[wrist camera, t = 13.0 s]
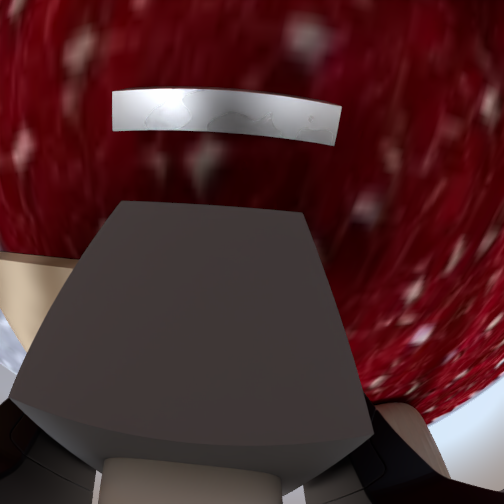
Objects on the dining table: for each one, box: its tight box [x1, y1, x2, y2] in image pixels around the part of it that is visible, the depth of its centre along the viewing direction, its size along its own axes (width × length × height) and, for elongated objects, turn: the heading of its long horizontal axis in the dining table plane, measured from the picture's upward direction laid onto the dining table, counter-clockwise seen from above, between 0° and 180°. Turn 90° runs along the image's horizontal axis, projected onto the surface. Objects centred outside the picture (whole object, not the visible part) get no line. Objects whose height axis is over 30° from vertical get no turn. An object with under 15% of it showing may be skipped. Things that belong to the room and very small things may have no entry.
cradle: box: [112, 86, 342, 146], centre depth 12 cm, size 24×12×2 cm, turn 84°
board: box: [0, 251, 79, 352], centre depth 17 cm, size 12×12×1 cm
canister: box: [374, 402, 451, 479], centre depth 20 cm, size 18×18×21 cm
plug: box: [9, 201, 374, 504], centre depth 6 cm, size 5×6×8 cm
